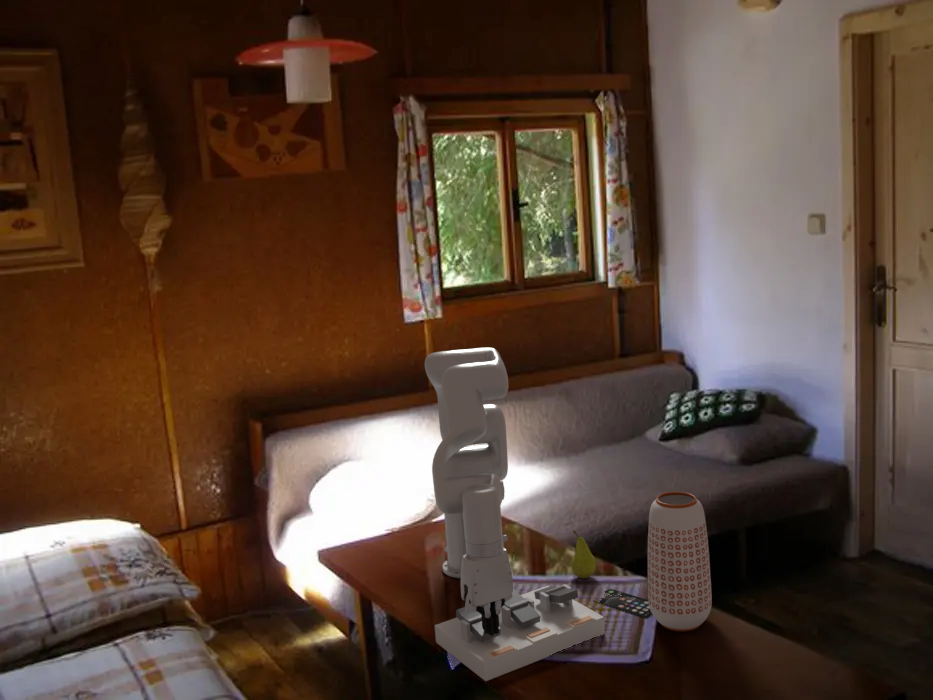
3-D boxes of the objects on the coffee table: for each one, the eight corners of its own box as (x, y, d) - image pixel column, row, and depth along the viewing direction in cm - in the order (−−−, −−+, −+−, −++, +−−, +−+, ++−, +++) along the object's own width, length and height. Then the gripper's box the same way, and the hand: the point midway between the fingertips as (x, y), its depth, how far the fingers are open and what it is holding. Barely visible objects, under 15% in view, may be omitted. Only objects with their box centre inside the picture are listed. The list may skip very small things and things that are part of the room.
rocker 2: (495, 600, 213) (496, 592, 212) (513, 594, 215) (514, 586, 214) (521, 628, 205) (522, 620, 204) (539, 621, 207) (540, 613, 206)
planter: (713, 637, 205) (710, 509, 200) (648, 636, 208) (643, 509, 202) (711, 608, 218) (707, 487, 212) (649, 607, 221) (644, 487, 215)
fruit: (600, 579, 237) (598, 532, 234) (579, 584, 234) (576, 537, 232) (589, 570, 242) (586, 524, 239) (568, 575, 240) (565, 529, 237)
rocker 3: (535, 599, 218) (533, 589, 218) (552, 593, 220) (550, 583, 220) (561, 603, 209) (559, 593, 209) (578, 597, 211) (576, 587, 211)
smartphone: (609, 588, 231) (664, 604, 221) (610, 590, 231) (664, 607, 221) (590, 600, 226) (645, 617, 215) (590, 602, 226) (645, 620, 216)
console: (436, 642, 212) (433, 608, 211) (549, 601, 227) (547, 569, 225) (485, 681, 195) (482, 644, 194) (604, 634, 210) (602, 599, 208)
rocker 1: (455, 616, 208) (456, 607, 207) (474, 609, 210) (474, 601, 209) (481, 642, 200) (481, 633, 199) (500, 635, 202) (500, 626, 201)
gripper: (505, 532, 204) (511, 615, 207) (442, 550, 196) (450, 637, 199) (526, 542, 197) (532, 627, 201) (462, 561, 190) (469, 650, 193)
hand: (491, 632), depth 200 cm, fingers closed
